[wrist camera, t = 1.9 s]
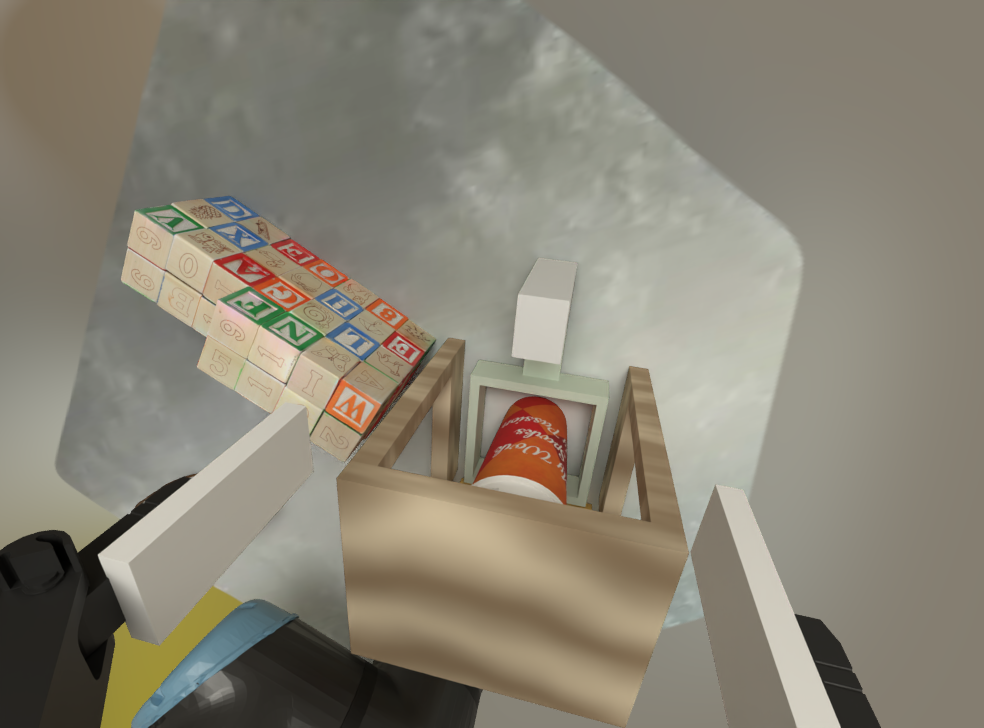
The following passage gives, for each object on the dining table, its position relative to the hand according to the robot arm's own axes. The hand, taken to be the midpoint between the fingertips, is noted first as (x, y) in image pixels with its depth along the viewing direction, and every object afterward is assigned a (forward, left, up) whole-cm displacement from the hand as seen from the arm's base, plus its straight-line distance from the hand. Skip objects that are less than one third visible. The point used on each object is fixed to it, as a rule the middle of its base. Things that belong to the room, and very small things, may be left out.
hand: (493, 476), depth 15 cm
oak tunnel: (-13, 0, -24) cm, 28 cm away
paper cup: (-13, 0, -25) cm, 28 cm away
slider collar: (-8, 0, -24) cm, 25 cm away
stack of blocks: (-4, +20, -25) cm, 32 cm away
